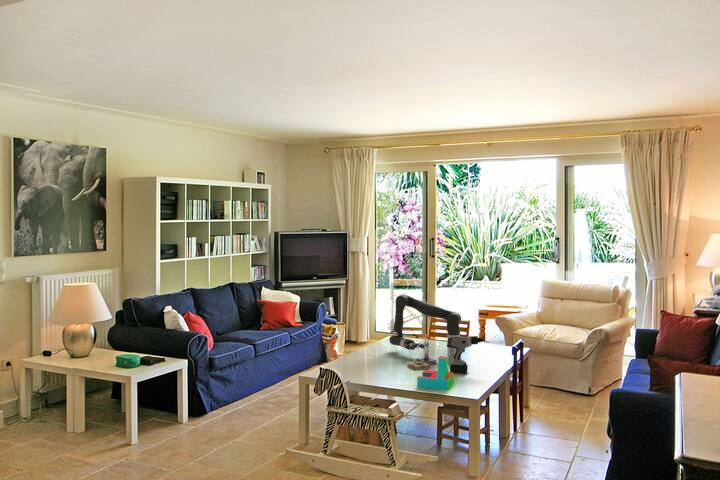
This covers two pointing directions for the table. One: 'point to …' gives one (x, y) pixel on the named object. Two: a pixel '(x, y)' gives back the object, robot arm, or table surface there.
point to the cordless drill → (461, 351)
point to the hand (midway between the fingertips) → (419, 347)
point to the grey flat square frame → (427, 361)
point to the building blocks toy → (437, 377)
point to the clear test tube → (426, 350)
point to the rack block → (419, 365)
